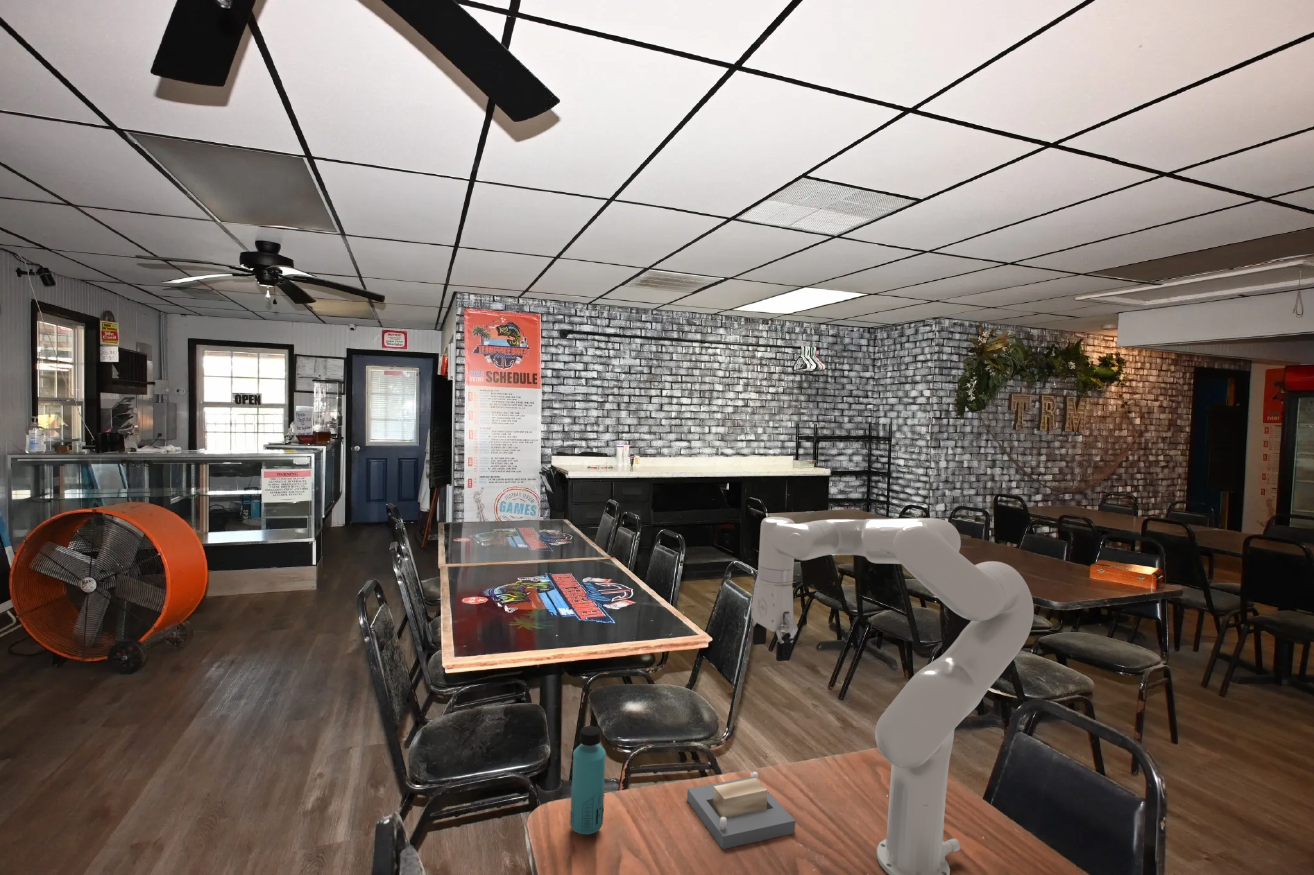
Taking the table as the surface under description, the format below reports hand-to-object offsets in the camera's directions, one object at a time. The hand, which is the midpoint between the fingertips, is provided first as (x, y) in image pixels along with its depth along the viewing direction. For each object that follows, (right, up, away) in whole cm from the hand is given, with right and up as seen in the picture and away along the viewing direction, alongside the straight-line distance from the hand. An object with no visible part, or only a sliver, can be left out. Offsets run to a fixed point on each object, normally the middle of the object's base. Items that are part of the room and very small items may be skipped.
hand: (770, 652), depth 141 cm
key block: (-8, -31, -10) cm, 33 cm away
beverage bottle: (-39, -29, -17) cm, 51 cm away
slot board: (-8, -30, -10) cm, 33 cm away
